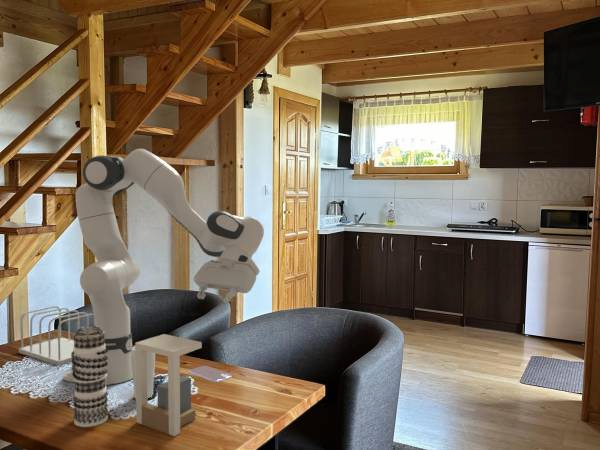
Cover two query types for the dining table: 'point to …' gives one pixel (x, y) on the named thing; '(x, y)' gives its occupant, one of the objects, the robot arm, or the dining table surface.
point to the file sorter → (56, 348)
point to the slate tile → (184, 395)
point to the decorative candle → (89, 376)
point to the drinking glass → (149, 371)
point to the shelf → (173, 349)
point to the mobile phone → (210, 373)
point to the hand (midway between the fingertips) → (211, 299)
